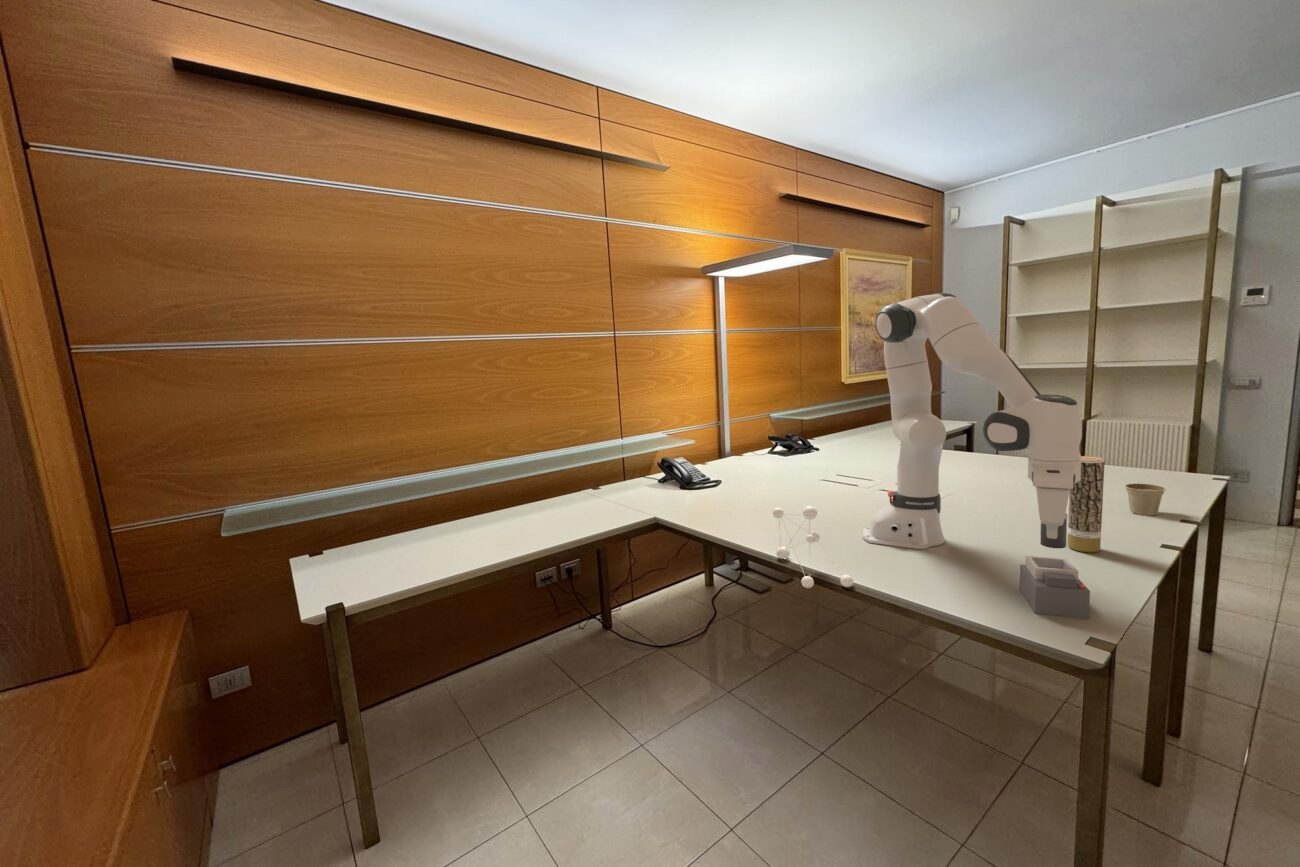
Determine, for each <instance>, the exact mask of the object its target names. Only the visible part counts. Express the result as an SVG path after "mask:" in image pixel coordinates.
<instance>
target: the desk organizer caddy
mask: <svg viewBox="0 0 1300 867" xmlns="http://www.w3.org/2000/svg"><path fill="white" fill-rule="evenodd" d="M1018 586H1019V591H1020V592H1021V594H1022V596H1023V597H1024V599H1025V600H1026V601H1027V603H1028V604H1029V606H1030V607H1031V610H1032V611H1033V612H1034V614H1038V615H1048V616H1056V617H1067V618H1077V619H1083V620H1085V619H1086V620H1090V601H1091V599H1090V598H1091V590H1090V589H1088V587H1087V586H1086V585H1085V584H1084V583H1083V582H1082V581H1081V580H1080V579H1079V571H1078V569H1077V568H1076V567H1075V566H1074V565H1073V564H1072V563H1071V562H1070V561H1069V560H1068V559H1067V558H1065V557H1051V556H1038V555H1037V556H1034V555H1025V564H1020V565H1019V585H1018Z"/></svg>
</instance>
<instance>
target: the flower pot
mask: <svg viewBox="0 0 1300 867" xmlns="http://www.w3.org/2000/svg"><path fill="white" fill-rule="evenodd" d="M1124 488H1125V490H1126V492H1127V496H1128V503H1129V510H1130V513H1132V514H1138V515H1139V516H1148V517H1149V516H1157V515H1158V513H1159V510H1160V509H1159V508H1160V504H1161V502H1162V497H1163V495H1164V494H1165V493H1164V492H1165V491H1167V488H1166V487H1165V486H1161V485H1156V484H1152V483H1151V484H1150V483H1138V482H1137V483H1135V482H1133V483H1127V484H1124Z"/></svg>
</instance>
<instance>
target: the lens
mask: <svg viewBox="0 0 1300 867" xmlns="http://www.w3.org/2000/svg"><path fill="white" fill-rule="evenodd" d="M1067 520H1068V513H1066V514H1065V519H1064V523H1063V525H1062V526H1058V535H1057V538H1056V539H1052V538H1048V537H1047V529H1046V524H1042V523H1041V522H1040V545H1041V546H1043V547H1046V548H1050V549H1066V548H1067V539H1068V522H1067Z"/></svg>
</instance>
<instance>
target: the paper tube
mask: <svg viewBox="0 0 1300 867" xmlns="http://www.w3.org/2000/svg"><path fill="white" fill-rule="evenodd" d="M1105 462H1106V461H1105V459H1104V458H1103V457H1099V456H1090V455H1089V456H1087V455H1081V480H1080V481H1079V482H1077V483H1076V484H1074V487H1073V489H1071V490H1070V493H1069V497H1068V516H1067V520H1068V522H1067V547H1068V548H1070V549H1072V550H1074V551H1077V552H1082V553H1091V554H1092V553H1097V552H1099V551H1100V550H1101V541H1102V522H1103V501H1104V485H1105V484H1104V482H1105V479H1104V478H1105Z"/></svg>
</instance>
